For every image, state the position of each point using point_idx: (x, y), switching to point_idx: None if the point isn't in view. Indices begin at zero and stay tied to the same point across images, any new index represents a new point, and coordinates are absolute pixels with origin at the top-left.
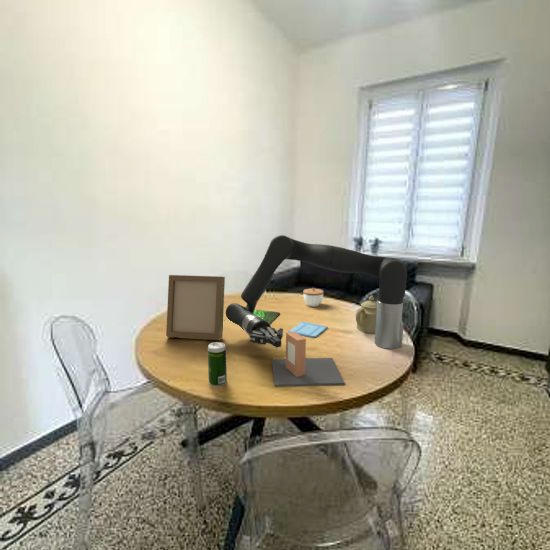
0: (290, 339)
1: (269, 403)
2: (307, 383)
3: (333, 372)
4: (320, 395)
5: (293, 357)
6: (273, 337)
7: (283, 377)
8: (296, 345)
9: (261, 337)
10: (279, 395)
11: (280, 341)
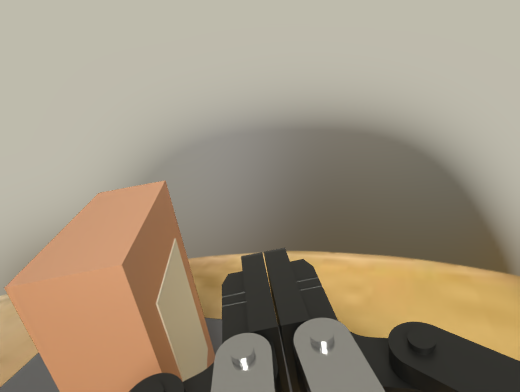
0: (155, 251)
1: (384, 262)
2: (209, 319)
3: (39, 375)
4: (209, 277)
5: (196, 324)
6: (283, 315)
7: (290, 384)
8: (173, 221)
9: (473, 347)
10: (342, 290)
11: (245, 257)
